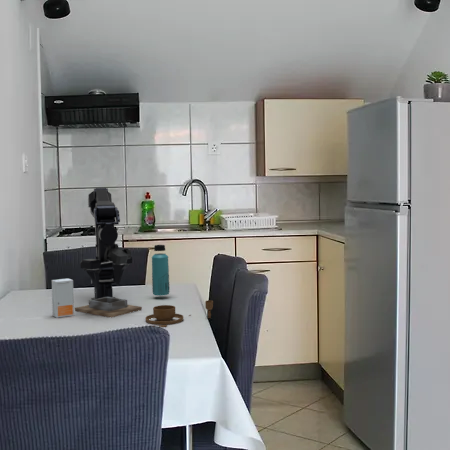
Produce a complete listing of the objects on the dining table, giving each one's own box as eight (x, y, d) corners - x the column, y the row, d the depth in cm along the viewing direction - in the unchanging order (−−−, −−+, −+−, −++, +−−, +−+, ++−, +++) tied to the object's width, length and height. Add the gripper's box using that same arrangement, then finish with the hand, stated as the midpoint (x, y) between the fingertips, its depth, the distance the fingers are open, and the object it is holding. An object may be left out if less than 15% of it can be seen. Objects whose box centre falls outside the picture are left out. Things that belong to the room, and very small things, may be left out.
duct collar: (74, 310, 208) (74, 300, 208) (106, 303, 219) (105, 294, 219) (111, 317, 197) (110, 306, 197) (141, 309, 209) (141, 299, 208)
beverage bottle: (166, 299, 225) (165, 245, 224) (149, 299, 226) (148, 245, 225) (172, 296, 232) (170, 243, 230) (155, 295, 233) (154, 243, 231)
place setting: (157, 315, 202) (157, 297, 202) (215, 318, 197) (215, 300, 197) (136, 328, 186) (135, 308, 185) (198, 331, 180) (198, 311, 180)
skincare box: (56, 318, 197) (55, 281, 197) (52, 315, 201) (51, 279, 200) (74, 315, 201) (73, 279, 200) (70, 313, 204) (69, 278, 203)
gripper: (101, 245, 194) (102, 293, 195) (143, 240, 209) (144, 285, 210) (78, 243, 201) (80, 290, 202) (120, 238, 216) (121, 282, 217)
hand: (107, 286), depth 208 cm, fingers open, 9 cm apart
